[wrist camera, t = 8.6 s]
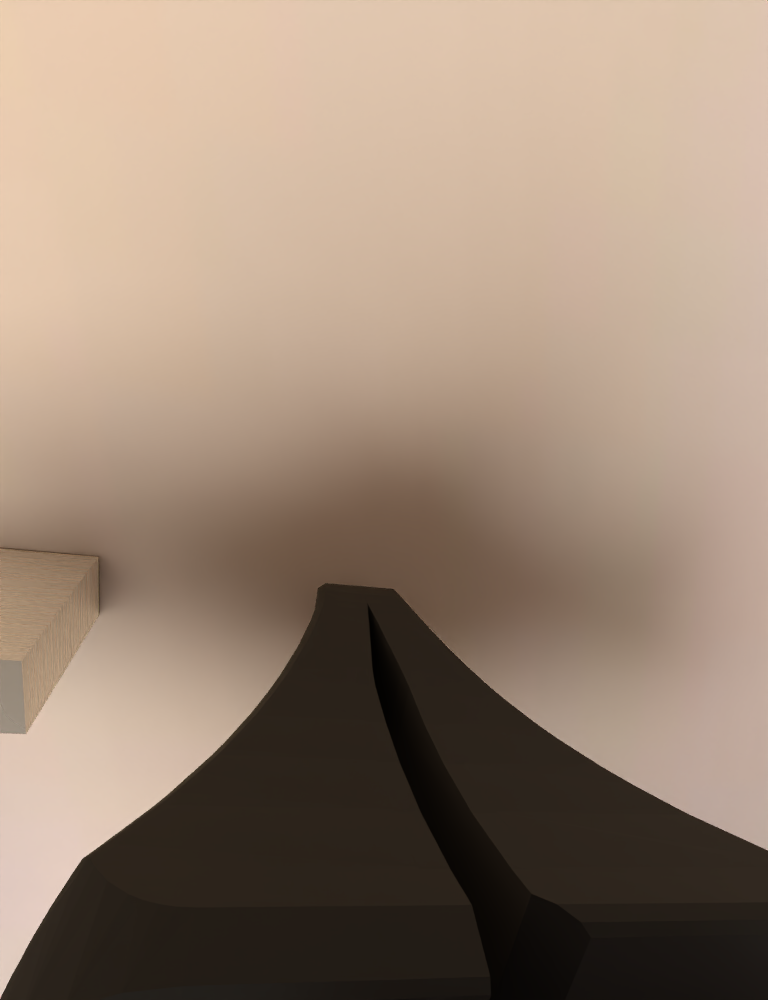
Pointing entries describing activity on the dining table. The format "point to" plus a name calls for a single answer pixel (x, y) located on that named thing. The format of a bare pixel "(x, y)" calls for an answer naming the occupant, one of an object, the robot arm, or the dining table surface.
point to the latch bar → (40, 626)
